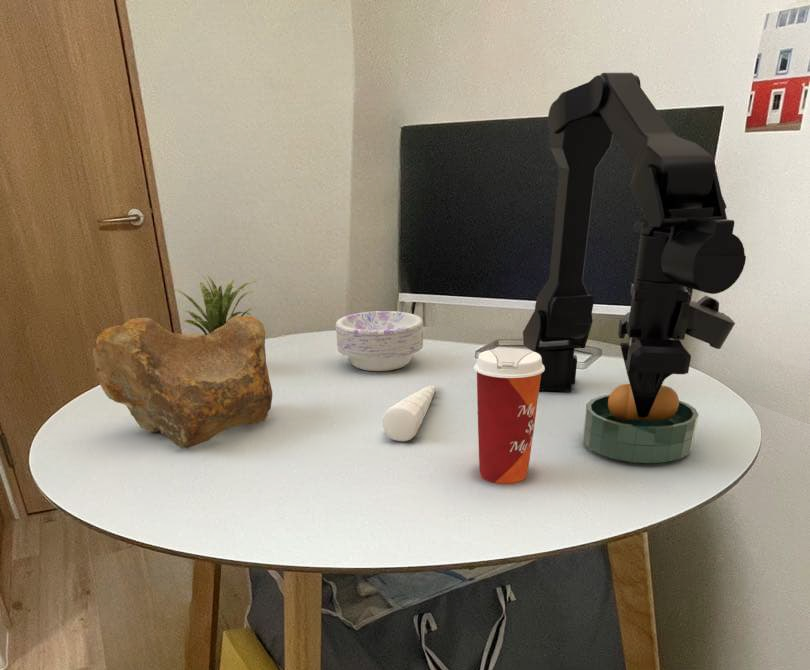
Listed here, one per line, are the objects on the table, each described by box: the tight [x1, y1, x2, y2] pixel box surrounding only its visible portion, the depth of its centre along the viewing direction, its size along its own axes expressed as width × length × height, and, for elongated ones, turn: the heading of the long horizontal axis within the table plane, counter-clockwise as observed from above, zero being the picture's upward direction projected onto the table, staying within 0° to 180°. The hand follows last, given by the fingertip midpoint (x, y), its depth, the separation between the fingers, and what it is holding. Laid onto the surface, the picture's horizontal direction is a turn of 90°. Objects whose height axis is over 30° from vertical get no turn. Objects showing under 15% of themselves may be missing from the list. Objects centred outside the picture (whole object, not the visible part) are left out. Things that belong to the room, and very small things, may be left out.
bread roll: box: [608, 383, 680, 422], centre depth 87 cm, size 8×4×4 cm, turn 79°
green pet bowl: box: [582, 394, 699, 464], centre depth 88 cm, size 13×13×5 cm
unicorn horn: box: [382, 384, 437, 443], centre depth 101 cm, size 5×24×5 cm, turn 163°
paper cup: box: [473, 347, 545, 485], centre depth 80 cm, size 8×8×14 cm
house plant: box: [173, 275, 258, 335], centre depth 119 cm, size 14×14×16 cm
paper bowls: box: [335, 310, 424, 372], centre depth 124 cm, size 15×15×8 cm
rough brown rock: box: [92, 315, 274, 449], centre depth 94 cm, size 23×17×15 cm
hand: (640, 410), depth 87 cm, fingers closed on bread roll, 4 cm apart
